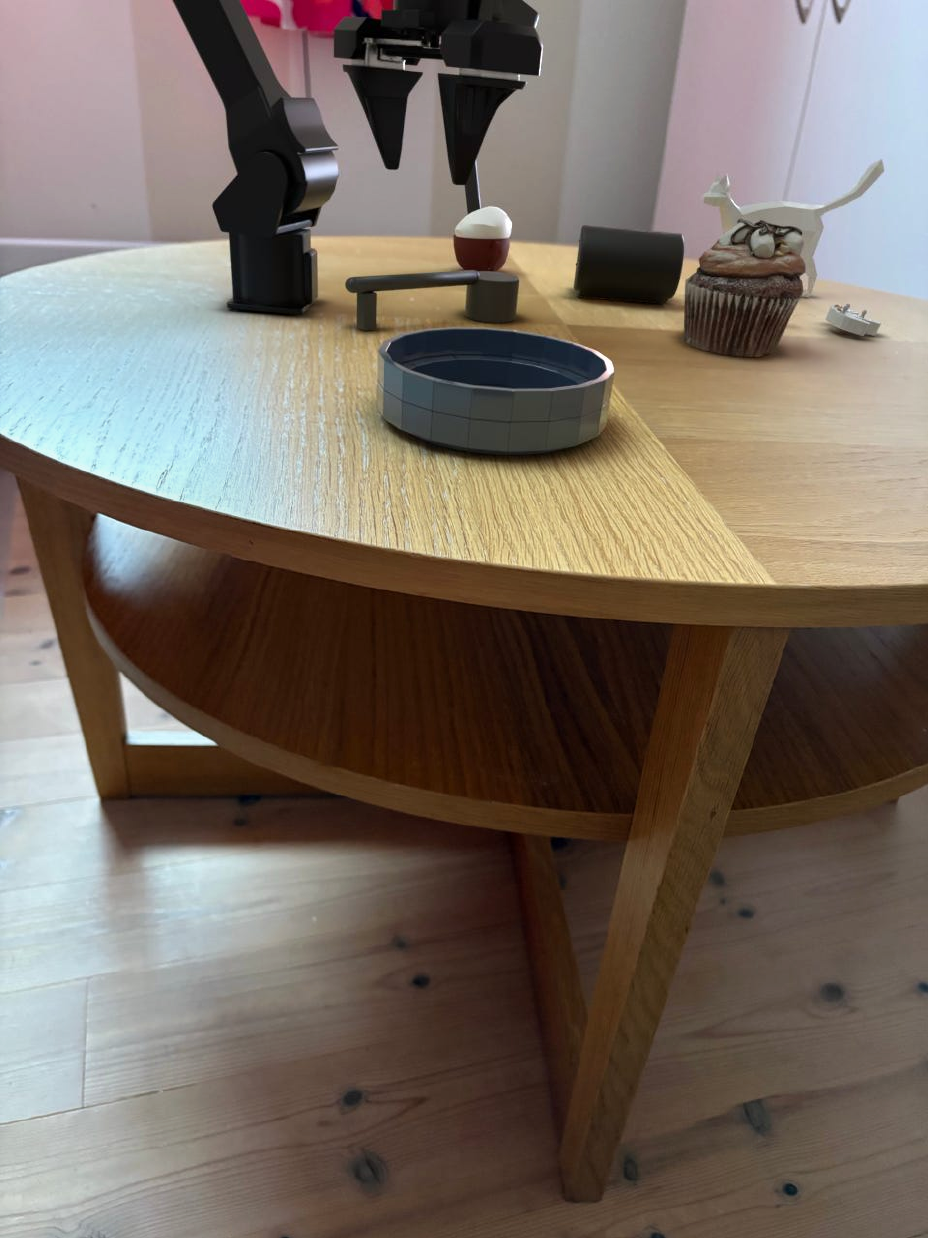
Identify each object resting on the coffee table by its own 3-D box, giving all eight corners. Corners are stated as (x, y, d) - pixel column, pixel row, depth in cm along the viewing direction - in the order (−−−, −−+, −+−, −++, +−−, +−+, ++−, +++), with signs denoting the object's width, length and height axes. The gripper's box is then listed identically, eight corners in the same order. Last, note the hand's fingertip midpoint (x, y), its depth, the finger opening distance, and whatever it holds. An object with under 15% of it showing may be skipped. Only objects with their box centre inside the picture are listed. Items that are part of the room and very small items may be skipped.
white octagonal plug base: (888, 340, 83) (897, 312, 82) (775, 338, 81) (782, 308, 80) (856, 325, 88) (864, 298, 86) (748, 323, 86) (754, 294, 84)
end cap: (574, 302, 88) (583, 229, 84) (569, 288, 94) (578, 219, 90) (674, 311, 88) (688, 237, 84) (663, 296, 94) (676, 227, 90)
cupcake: (710, 326, 83) (735, 209, 78) (806, 350, 77) (839, 226, 72) (651, 338, 77) (674, 213, 72) (751, 366, 71) (782, 231, 66)
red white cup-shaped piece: (509, 280, 96) (520, 155, 90) (451, 276, 95) (458, 150, 89) (504, 265, 104) (514, 149, 98) (451, 261, 104) (458, 145, 97)
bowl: (361, 449, 49) (361, 377, 47) (393, 379, 61) (394, 319, 59) (612, 471, 49) (624, 400, 47) (595, 396, 61) (604, 337, 59)
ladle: (360, 337, 70) (361, 283, 68) (332, 324, 73) (331, 271, 71) (526, 320, 80) (531, 272, 78) (494, 309, 83) (498, 262, 81)
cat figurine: (678, 284, 101) (704, 144, 94) (838, 291, 104) (875, 157, 97) (692, 292, 97) (720, 147, 90) (858, 299, 101) (898, 160, 93)
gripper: (616, -62, 59) (581, 194, 67) (451, -52, 72) (438, 164, 80) (486, -93, 53) (464, 193, 61) (330, -75, 65) (329, 161, 74)
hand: (424, 176), depth 69 cm, fingers open, 9 cm apart
